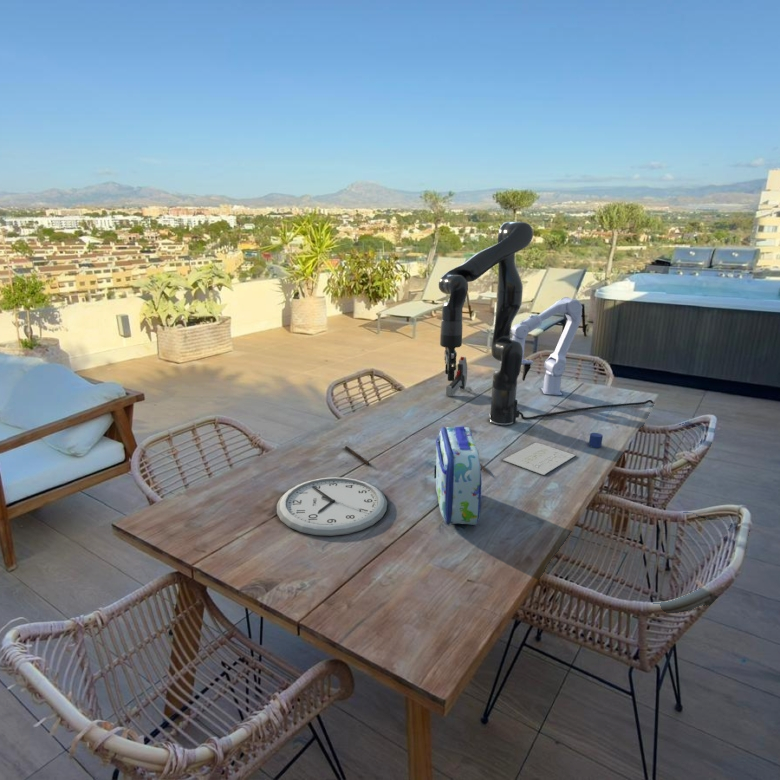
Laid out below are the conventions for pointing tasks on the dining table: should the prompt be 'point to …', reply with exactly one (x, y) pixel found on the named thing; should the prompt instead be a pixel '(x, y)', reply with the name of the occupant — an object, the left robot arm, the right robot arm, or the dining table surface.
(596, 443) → the can
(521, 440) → the dining table surface
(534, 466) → the invitation card
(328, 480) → the wall clock
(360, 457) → the thin brown stick
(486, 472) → the fork
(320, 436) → the dining table surface
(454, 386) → the toy gun
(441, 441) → the lunch box
